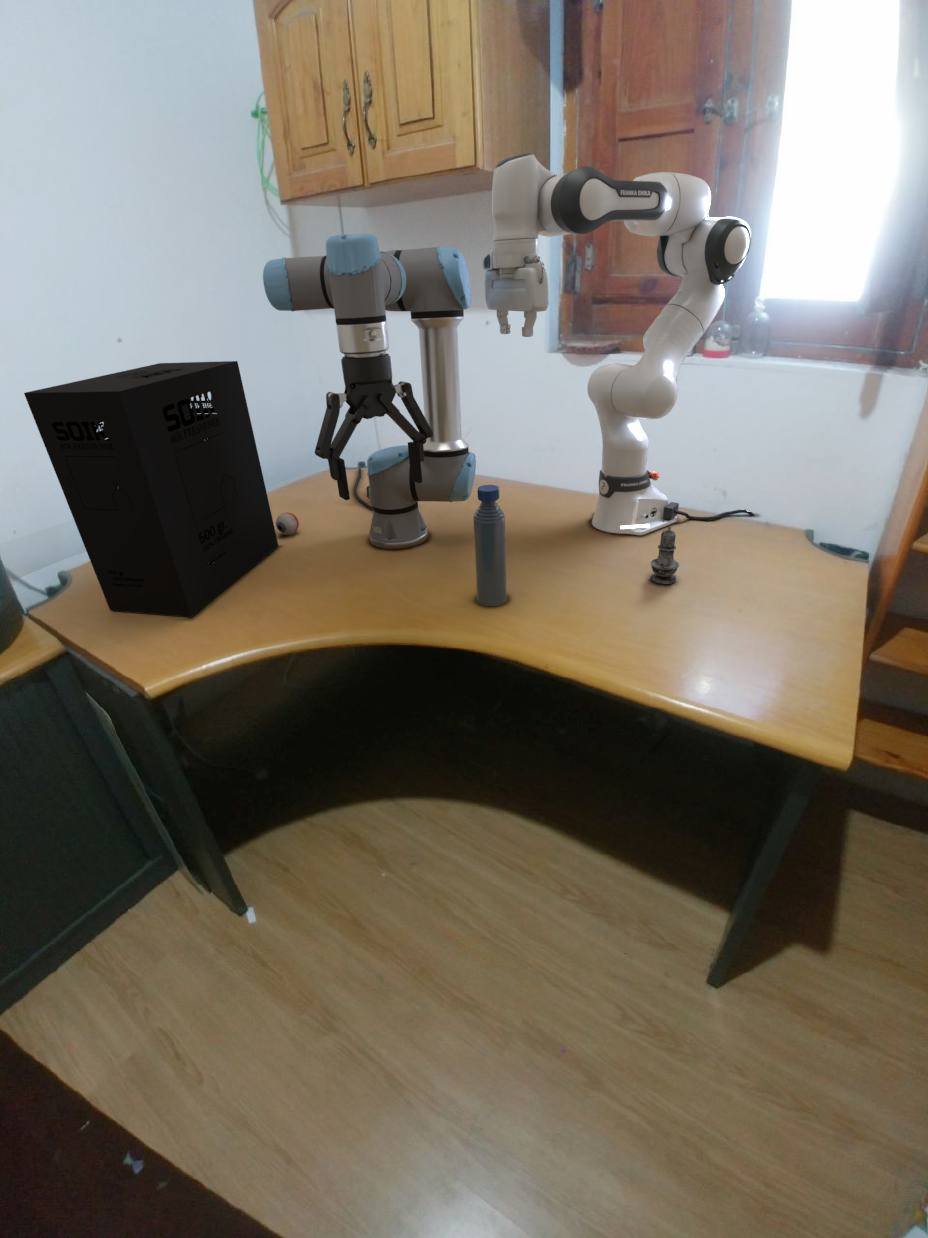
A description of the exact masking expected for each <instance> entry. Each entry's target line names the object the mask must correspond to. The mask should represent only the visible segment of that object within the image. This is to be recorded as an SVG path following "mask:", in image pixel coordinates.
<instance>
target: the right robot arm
mask: <svg viewBox="0 0 928 1238" xmlns="http://www.w3.org/2000/svg"><path fill="white" fill-rule="evenodd" d="M711 200H712V194H711V189H710V186H709V185H708V183H707V182H706V181H705V180H704V179H703V178H701V177H698V176H695V175H692V174H689V173H682V172H675V171H673V172H672V171H660V172H659V171H658V172H651V173H646V174H641V175H640V176H637V177H635V178H633V179H632V180H624V179H623V180H621V179H613V178H610V177H609V176H607V175H606V174H604V173H603V172H601V171H600V170H599V169H596V168H594V167H592V166H585V165H584V166H579V167H577V168H575V169H573V170H569V171H568V172H566V173H565V172H564V173H562V174H559V175H558V174H556V173H554V172H552V171H551V170H549V169H547V168H546V167H545V166H543V165H542V163H540V161H539V160H538V159H537V157H536V156H535V153H531V152H525V153H520V154H517V155H513V156H509V157H507V158H504V159H501V160H500V161H499V162H497V164H496V165H495V167H494V170H493V174H492V183H491V216H492V220H493V227H494V228H493V235H492V248H491V249H490V250H489V252H488V253H487V254H486V255H485V256H484V257H483V258H482V269H483V271H485V273H484V297H485V304H486V306H487V307H486V308H487V309H488V310H492V311H496V318H497V321H498V323H499V324H498V325H499V333H500V335H510V334H511V324H509V318H508V316H509V312H523V318H524V323H523V326H522V327H521V336H522V337H523V338H531V337H533V335H534V326H535V324H536V320H537V318H538V316H537V315H538V314H537V313H540V312H546V311H547V310H548V308H549V307H548V306H549V303H550V297H549V296H550V295H549V279H548V278H549V277H548V273H547V269H546V268H545V263H544V262H543V260H542V258H541V256H539V236H542V237H546V238H547V237H549V238H550V237H557V236H558V237H560V236H566V235H567V236H568V235H585V234H586V235H587V234H589V233H592V232H594V231H595V230H597V229H598V228H600V227H602V226H603V225H605V224H606V223H608V222H623V224H624V226H625V227H626V230H628V232H629V233H631V234H634V235H639V236H645V237H658V242H657V248H656V259H657V264H658V267H659V269H660V270H661V271H662V272H663V273H664V274H666V275H669V276H672V277H682V279H681V283H680V285H679V287H678V289H677V291H676V292H675V294H674V295H673V296H672V297H671V298H670V300H669V301H668V302H667V303H666V305H665V306H664V307H663V308H662V310H661V311H660V313H659V314H658V315H657V316H656V318H655V319H654V320H653V322H652V323H651V324H650V326H649V327H647V330H646V331H645V332H644V335H643V337H642V345H643V350H644V351H643V353H642V356H641V358H640V359H639V360H638V361H637V363H635V364H625V363H619V362H615V363H614V362H613V363H607V364H604V365H601V366H597V368H595V369H594V371H593V372H591V374H590V376H589V378H588V380H587V395H588V398H589V399H590V401H591V402H592V404H593V406H594V408H595V411H596V414H597V417H598V418H597V419H598V421H599V427H600V432H601V440H602V447H601V448H602V449H601V450H602V451H601V468H600V470H599V474H598V492H599V493H598V498H597V502H596V507H595V511H594V514H593V517H592V520H591V525H592V526H593V527H594V528H595V529H597V530H599V531H601V532H605V533H611V534H623V535H625V534H626V535H632V536H633V535H634V536H645V535H646V534H650V533H652V532H654V531H657V530H660V529H662V528H665V527H668V526H670V525H672V524H675V523H677V522H678V515H680V516H684V517H685V518H686V519H688V520H692V521H693V520H694V521H712V520H718V519H720V518H723V517H725V516H732V515H735V514H748V515H749V516H750V517H755V516H756V515H755V513H754V512H752V511H751V512H747V511H746V510H747V509H744V510H741V509H736V510H729V511H725V512H721V513H719V514H717V515H712V516H695V515H694V516H693V515H690V514H689V513H688V512H684V511H680V510H679V505H680V503H679V502H674V501H671V502H670V501H669V498H668V497H667V496H666V495H665V494H664V493H663V492H661V491H660V490H659V489H658V488H656V487H655V486H654V485H652V483H651V480H653V481H658V479H659V478H660V473H659V472H657V471H654V470H651V471H649V470H648V469H647V466H648V458H649V457H648V455H649V446H650V441H649V437H648V435H647V434H646V432H645V431H644V429H643V427H642V424H641V420H656V419H662V418H664V417H666V416H667V415H669V413H670V412H671V411H672V410H673V408H674V406H675V405H676V402H677V399H678V395H679V389H678V388H679V387H678V383H677V377H678V373H679V371H680V368H681V366H682V365H683V363H684V361H685V359H686V358H687V357H688V355H689V354H690V353H691V352H692V350H693V348H694V347H695V346H696V345H697V343H698V342H699V340H701V338H702V337H703V336H704V335H705V333H706V331H707V330H708V328H709V327H710V325H711V324H712V322H713V321H714V319H715V318H716V316H717V315H718V313H719V311H720V309H721V307H722V305H723V303H724V300H725V288H724V285H725V284H727V283H729V282H730V281H732V280H733V279H734V278H735V275H736V274H737V271H738V270H739V269H740V268H741V267H742V265H743V263H744V262H745V260H746V258H747V256H748V254H749V252H750V249H751V243H752V231H751V228H750V225H749V224H748V223H747V222H746V221H745V220H743V219H741V218H738V217H736V216H724V217H710V215H709V210H710V207H711Z"/></svg>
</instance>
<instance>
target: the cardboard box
mask: <svg viewBox="0 0 928 1238" xmlns="http://www.w3.org/2000/svg"><path fill="white" fill-rule="evenodd" d="M209 393H210V397H209V395H208V394H209ZM23 394H24V397H25V399H26V402H27V405H28V407H29V410H30V412H31V414H32V418H33V420H34V423H35V425H36V427H37V430H38V431H39V432H38V433H39V435H40V437H41V440H42V442H43V445H44V447H45V450H46V452H47V455H48V457H49V460H50V463H51V465H52V467H53V470H54V473H55V475H56V478H57V480H58V483H59V486H60V488H61V490H62V493H63V495H64V498H65V501H66V503H67V505H68V509H69V510H70V513H71V516H72V518H73V520H74V523H75V525H76V528H77V532H78V533H79V536H80V538H81V541H82V544H83V546H84V548H85V551H86V554H87V555H88V558H89V561H90V563H91V566H92V568H93V571H94V574H95V576H96V579H97V581H98V584H99V587H100V589H101V591H102V594H103V597H104V598H105V601H106V603H107V607H108V609H109V611H110V612H119V613H120V612H122V613H133V614H146V615H157V616H160V615H161V616H170V617H171V616H172V617H183V618H193V617H194V616H195V615H196V614H197V613H199V612H200V611H202V610H203V609H204V608H205V607H206V606H208V605H209V604H210V603H211V602H213V600H214V599H216V598H217V597H218V596H219V595H221V594H222V593H223V592H225V591H226V590H227V589H228V588H230V586H232V585H233V584H234V583H235V582H237V581H238V580H239V579H240V578H242V577H243V576H244V575H246V573H248V572H249V571H250V570H252V568H254V567H256V565H258V564H259V563H260V562H262V560H264V559H265V558H266V557H267V556H268V555H270V554H271V553H273V551H275V550H276V549H277V548H279V542H278V537H277V533H276V529H275V524H274V520H273V515H272V510H271V505H270V502H269V497H268V493H267V487H266V483H265V479H264V474H263V471H262V466H261V461H260V457H259V452H258V447H257V444H256V439H255V434H254V429H253V425H252V421H251V417H250V416H251V415H250V411H249V408H248V403H247V398H246V394H245V388H244V385H243V379H242V376H241V371H240V367H239V361H238V360H227V361H226V360H225V361H224V360H223V361H189V362H188V361H187V362H159V363H155V364H149V365H145V366H140V367H136V368H131V369H126V370H123V371H117V372H114V373H113V372H112V373H109V374H104V375H100V376H95V377H90V378H86V379H81V380H77V381H72V382H68V383H62V384H58V385H54V386H53V385H52V386H49V387H44V388H40V389H35V390H32V391H31V390H30V391H26V392H23ZM197 397H198V398H197ZM192 398H193V399H192ZM202 398H203V399H204V400H202Z"/></svg>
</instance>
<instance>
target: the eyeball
mask: <svg viewBox="0 0 928 1238" xmlns="http://www.w3.org/2000/svg"><path fill="white" fill-rule="evenodd" d="M299 525H300V522H299V519H298V517H297V516H296V515H295V514H294V513H292V512H287V511H286V512H282V513H280V514H279V515H278V516H277V517H276V520H275V527H276V529H277V530H278V531H279V532H280V533H281V534H282V535H285V536H286V535H287V536H289V535H293V534H295V533H296V532H297V531H298V529H299Z"/></svg>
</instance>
